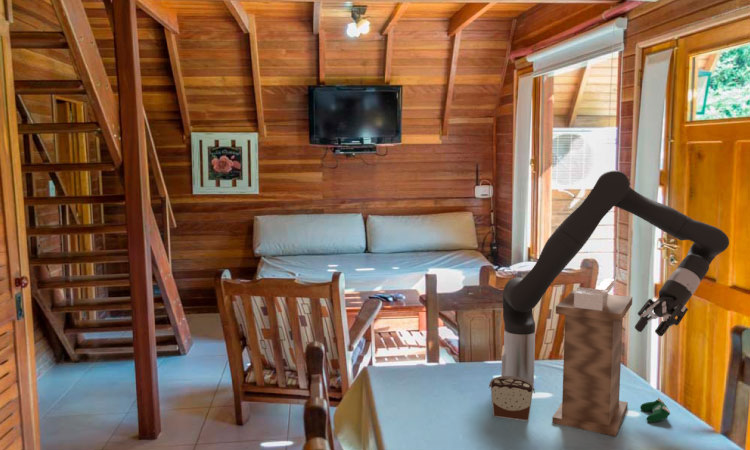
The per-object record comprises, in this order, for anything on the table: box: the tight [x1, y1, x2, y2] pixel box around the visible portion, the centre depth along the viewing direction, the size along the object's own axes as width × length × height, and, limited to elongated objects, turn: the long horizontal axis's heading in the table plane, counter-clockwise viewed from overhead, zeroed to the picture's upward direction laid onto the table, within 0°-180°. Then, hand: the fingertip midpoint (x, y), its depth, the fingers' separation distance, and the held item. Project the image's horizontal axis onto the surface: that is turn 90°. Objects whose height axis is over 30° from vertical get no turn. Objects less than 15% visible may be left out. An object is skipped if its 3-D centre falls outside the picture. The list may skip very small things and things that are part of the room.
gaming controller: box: [639, 397, 671, 423], centre depth 166 cm, size 9×4×6 cm
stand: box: [551, 290, 633, 437], centre depth 166 cm, size 16×20×32 cm
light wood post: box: [574, 278, 615, 311], centre depth 169 cm, size 7×32×4 cm, turn 150°
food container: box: [488, 376, 536, 422], centre depth 168 cm, size 12×6×10 cm, turn 71°
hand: (647, 332), depth 169 cm, fingers open, 8 cm apart
